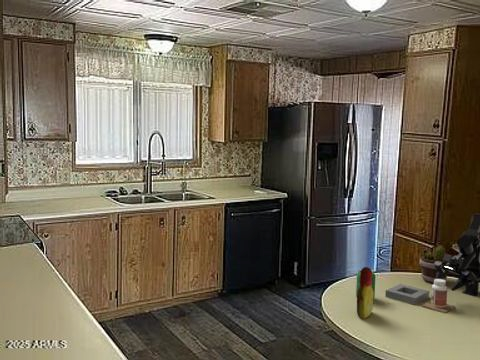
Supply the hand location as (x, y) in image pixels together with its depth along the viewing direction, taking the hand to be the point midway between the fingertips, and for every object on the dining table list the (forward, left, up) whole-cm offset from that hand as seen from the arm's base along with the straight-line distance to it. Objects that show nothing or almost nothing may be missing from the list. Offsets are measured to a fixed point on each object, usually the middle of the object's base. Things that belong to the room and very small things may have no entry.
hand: (443, 286), depth 209 cm
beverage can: (+16, -28, -9) cm, 33 cm away
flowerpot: (-33, -18, -9) cm, 38 cm away
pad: (+2, -1, -8) cm, 9 cm away
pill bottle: (+2, -1, -8) cm, 8 cm away
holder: (0, -16, -8) cm, 18 cm away
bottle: (+34, -18, -9) cm, 40 cm away
